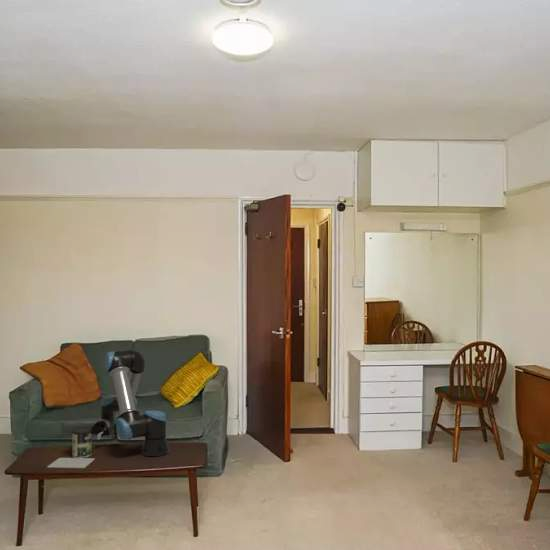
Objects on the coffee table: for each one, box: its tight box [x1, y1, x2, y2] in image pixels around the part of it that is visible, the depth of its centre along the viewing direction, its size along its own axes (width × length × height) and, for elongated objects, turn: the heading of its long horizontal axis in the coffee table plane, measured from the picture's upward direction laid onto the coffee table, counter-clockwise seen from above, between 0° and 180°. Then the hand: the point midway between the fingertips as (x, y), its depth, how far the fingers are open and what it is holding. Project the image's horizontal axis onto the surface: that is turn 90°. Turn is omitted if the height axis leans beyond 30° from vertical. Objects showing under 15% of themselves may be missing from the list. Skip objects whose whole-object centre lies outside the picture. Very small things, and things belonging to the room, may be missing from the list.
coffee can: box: [71, 427, 92, 458], centre depth 293 cm, size 10×10×14 cm
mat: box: [46, 457, 96, 469], centre depth 280 cm, size 20×14×1 cm
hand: (86, 437), depth 300 cm, fingers open, 13 cm apart
